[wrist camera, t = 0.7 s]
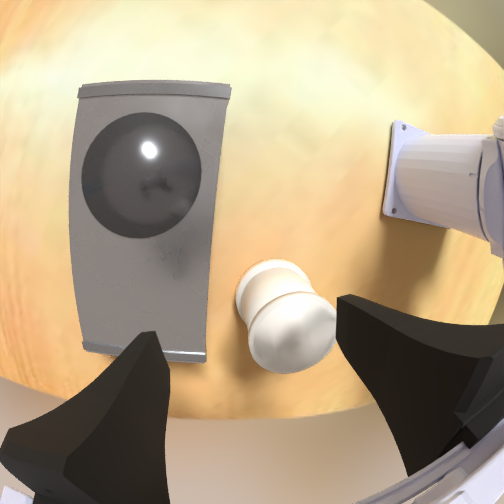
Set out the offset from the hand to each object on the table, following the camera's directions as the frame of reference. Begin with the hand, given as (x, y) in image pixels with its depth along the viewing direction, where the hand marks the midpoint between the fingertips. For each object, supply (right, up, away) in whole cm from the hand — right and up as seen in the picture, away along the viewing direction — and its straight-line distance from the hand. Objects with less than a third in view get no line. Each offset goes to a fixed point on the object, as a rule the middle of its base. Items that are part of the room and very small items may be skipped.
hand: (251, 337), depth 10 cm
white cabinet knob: (+2, 0, +10) cm, 10 cm away
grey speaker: (-7, +6, +7) cm, 11 cm away
